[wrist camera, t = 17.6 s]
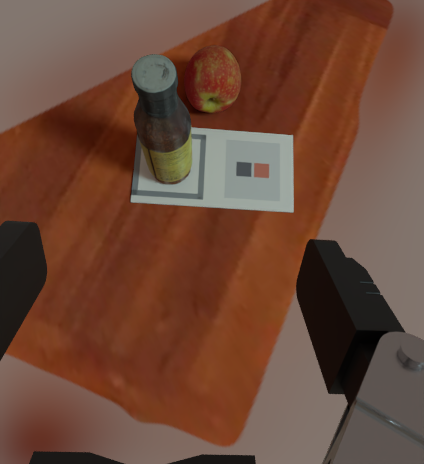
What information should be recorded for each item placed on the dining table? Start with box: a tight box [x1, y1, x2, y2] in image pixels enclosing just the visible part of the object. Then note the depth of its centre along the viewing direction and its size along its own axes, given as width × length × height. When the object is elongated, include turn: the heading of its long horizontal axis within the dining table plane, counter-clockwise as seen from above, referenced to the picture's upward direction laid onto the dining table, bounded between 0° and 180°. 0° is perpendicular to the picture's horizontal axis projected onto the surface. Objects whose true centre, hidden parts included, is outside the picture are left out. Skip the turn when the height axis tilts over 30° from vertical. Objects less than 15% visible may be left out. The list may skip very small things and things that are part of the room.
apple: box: [184, 45, 241, 113], centre depth 49 cm, size 8×8×8 cm
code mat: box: [131, 128, 294, 213], centre depth 51 cm, size 23×12×1 cm, turn 88°
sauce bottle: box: [131, 54, 192, 185], centre depth 40 cm, size 7×6×20 cm
